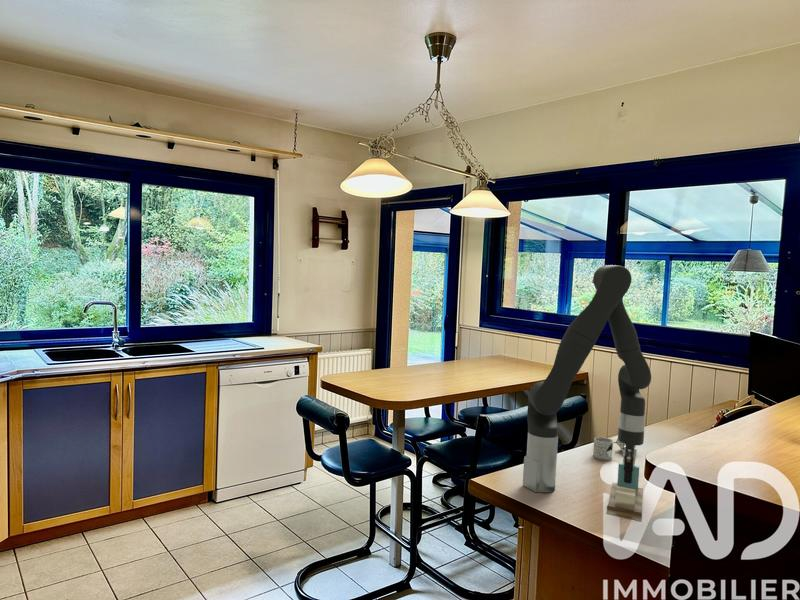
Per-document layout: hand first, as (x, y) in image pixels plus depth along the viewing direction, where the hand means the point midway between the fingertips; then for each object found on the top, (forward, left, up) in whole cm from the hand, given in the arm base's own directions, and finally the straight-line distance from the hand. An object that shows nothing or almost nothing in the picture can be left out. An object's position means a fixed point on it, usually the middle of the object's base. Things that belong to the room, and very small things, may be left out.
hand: (627, 481), depth 165 cm
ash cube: (-15, -11, -2) cm, 18 cm away
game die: (+33, +27, -3) cm, 43 cm away
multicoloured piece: (-10, -7, -3) cm, 12 cm away
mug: (+20, +27, -3) cm, 34 cm away
